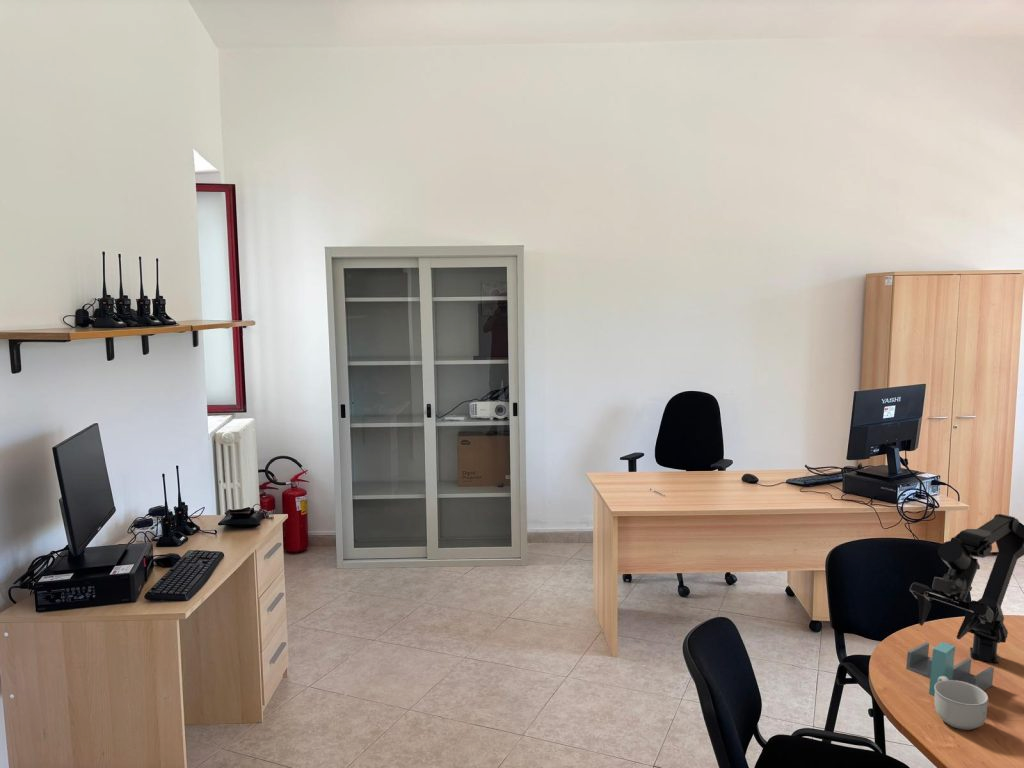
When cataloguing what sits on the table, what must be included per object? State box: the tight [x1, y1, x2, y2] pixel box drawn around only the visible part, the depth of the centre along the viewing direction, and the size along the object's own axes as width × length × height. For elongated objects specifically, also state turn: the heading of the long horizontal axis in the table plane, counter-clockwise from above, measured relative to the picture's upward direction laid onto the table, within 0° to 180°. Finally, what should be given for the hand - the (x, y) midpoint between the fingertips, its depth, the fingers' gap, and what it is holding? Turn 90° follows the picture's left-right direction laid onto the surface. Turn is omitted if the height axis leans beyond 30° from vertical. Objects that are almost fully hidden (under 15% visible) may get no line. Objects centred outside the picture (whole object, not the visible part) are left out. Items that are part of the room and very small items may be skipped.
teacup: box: [934, 676, 989, 731], centre depth 175 cm, size 14×11×8 cm
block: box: [928, 641, 956, 697], centre depth 187 cm, size 6×3×12 cm, turn 130°
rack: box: [905, 641, 995, 692], centre depth 195 cm, size 10×17×5 cm, turn 35°
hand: (938, 631), depth 190 cm, fingers open, 9 cm apart
